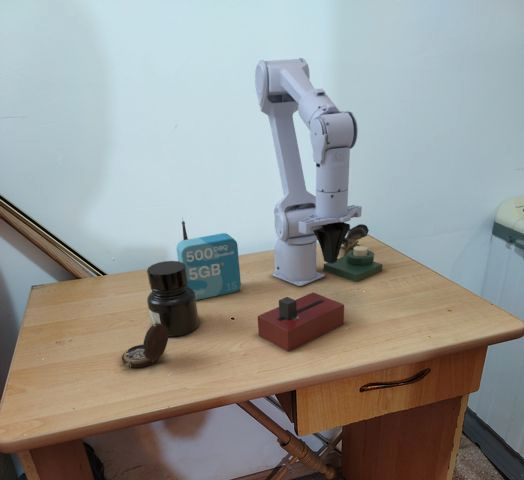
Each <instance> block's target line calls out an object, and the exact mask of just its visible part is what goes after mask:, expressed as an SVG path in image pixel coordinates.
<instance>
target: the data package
mask: <svg viewBox="0 0 524 480" xmlns="http://www.w3.org/2000/svg"><path fill="white" fill-rule="evenodd" d="M176 255H177V261H179V262H182V263H184V264H185V267H186V274H187V282H188V284H187V286H188V287H190V288H191V289H192V290H193V291H194V293H195V297H196V301H199V300H204V299H209V298H213V297H217V296H218V297H219V296H222V295H227V294H231V293H235V292H236V293H237V291H239V290H240V288H241V284H242V283H241V269H240V259H239V257H240V256H239V247H238V242H237V241H236V240H235V238H233V237H232V236H231V235H230V234H228V233H226V232H223V233H215V234H211V235H205V236H200V237H199V236H198V237H194V238H188V239H187V240H184V239H182V240H179V242H177V244H176Z"/></svg>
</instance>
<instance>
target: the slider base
mask: <svg viewBox="0 0 524 480" xmlns="http://www.w3.org/2000/svg"><path fill="white" fill-rule="evenodd" d="M295 300H296V307H297V316H296V317H293V318H291V319H289V320H288V319H286V318H284V317H281V316H279V306H277V307H275V308H273V309H271V310H268V311H266V312H264V313H261V314H259V315H257V329H258V336H259V337H261V338H262V339H265V340H267V341H268V342H270V343H272V344H273V345H275V346H277V347H279V348H281V349H283V350H285V351H286V352H290V351H292V350H294V349H296V348H298V347H300V346H302V345H305V344H306V343H308V342H310V341H312V340H314V339H316V338H319V337H320V336H323V335H324V334H326V333H328V332H330V331H332V330H335V329H336V328H338V327H341V326H342V325H344V324H345V323H344V320H345V304H343V303H341V302H339V301H336V300H334V299H332V298H329V297H326V296H324V295H321V294H319V293H317V292H310V293H308V294H306V295H302V296H301V297H298V298H297V299H295Z"/></svg>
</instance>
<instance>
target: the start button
mask: <svg viewBox="0 0 524 480" xmlns="http://www.w3.org/2000/svg"><path fill="white" fill-rule="evenodd" d="M353 250H354V251H353V255H354V256H358V257H363V256H367V253H368V250H369V248H368V247H367V246H364V245H360V246H356V247H354V249H353Z"/></svg>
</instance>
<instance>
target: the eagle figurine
mask: <svg viewBox="0 0 524 480" xmlns="http://www.w3.org/2000/svg"><path fill="white" fill-rule="evenodd" d="M369 231H370V230H369V227H368V226H367V225H366V224H363V223H360V224H359V223H358V224H357V225H356V226H354V227H351V228H350V230H349V231H348V233H347V235H346V236H345V238H344V240H343V243H342V245H343V246H341V248H340V250H341V249H342V250H344V253H343V256H346V255H347V253H348V252H349V251H351V249H352V250H354V247H356V246H361V244H358V243H359V242H360V241H359V240H361V239H363V238H366V237H367V236H368V234H369Z"/></svg>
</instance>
